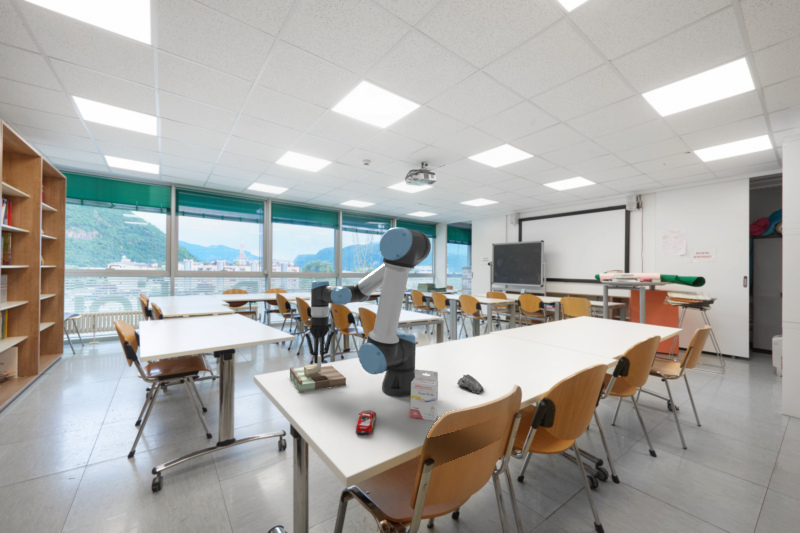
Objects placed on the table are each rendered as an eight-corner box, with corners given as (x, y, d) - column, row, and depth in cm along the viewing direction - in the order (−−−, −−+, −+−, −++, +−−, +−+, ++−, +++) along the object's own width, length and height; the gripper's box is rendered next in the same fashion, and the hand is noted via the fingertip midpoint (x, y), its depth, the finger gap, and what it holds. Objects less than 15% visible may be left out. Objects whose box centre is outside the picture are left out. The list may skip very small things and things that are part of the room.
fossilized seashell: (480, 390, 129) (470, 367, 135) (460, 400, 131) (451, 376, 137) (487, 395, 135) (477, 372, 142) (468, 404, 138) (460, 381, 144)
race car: (361, 416, 109) (361, 404, 109) (377, 417, 109) (377, 405, 109) (353, 436, 96) (353, 422, 96) (371, 436, 96) (371, 423, 96)
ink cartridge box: (409, 417, 108) (410, 372, 108) (413, 411, 113) (414, 368, 113) (435, 421, 105) (436, 375, 106) (438, 415, 110) (438, 371, 110)
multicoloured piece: (345, 385, 138) (345, 374, 138) (299, 392, 129) (299, 380, 129) (331, 371, 155) (331, 362, 155) (289, 377, 146) (290, 367, 146)
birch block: (318, 375, 140) (318, 367, 140) (306, 377, 137) (306, 369, 137) (315, 372, 144) (315, 364, 144) (304, 374, 142) (304, 366, 142)
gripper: (331, 314, 149) (330, 366, 149) (302, 315, 143) (301, 369, 143) (336, 316, 143) (335, 370, 142) (306, 318, 136) (305, 374, 136)
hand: (318, 370), depth 142 cm, fingers closed
